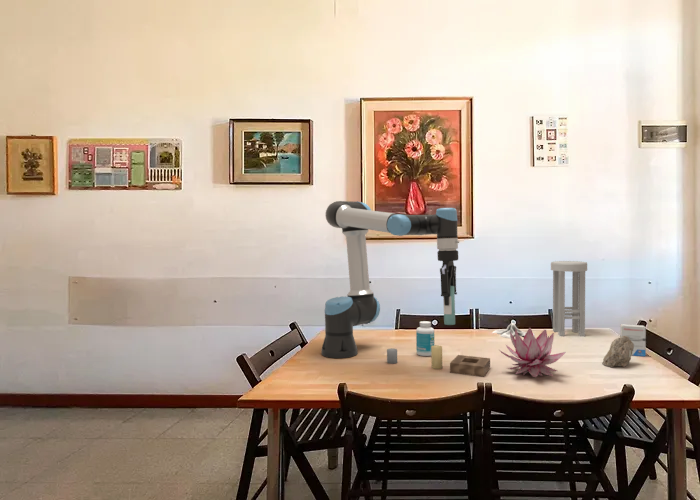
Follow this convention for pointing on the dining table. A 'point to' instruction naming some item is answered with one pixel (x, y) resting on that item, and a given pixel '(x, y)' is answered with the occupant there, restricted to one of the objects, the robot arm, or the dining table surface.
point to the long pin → (450, 318)
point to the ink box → (635, 337)
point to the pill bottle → (424, 338)
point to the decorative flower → (533, 353)
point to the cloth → (506, 332)
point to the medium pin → (436, 356)
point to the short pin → (391, 356)
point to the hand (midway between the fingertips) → (449, 312)
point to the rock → (619, 352)
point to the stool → (577, 296)
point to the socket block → (470, 365)
